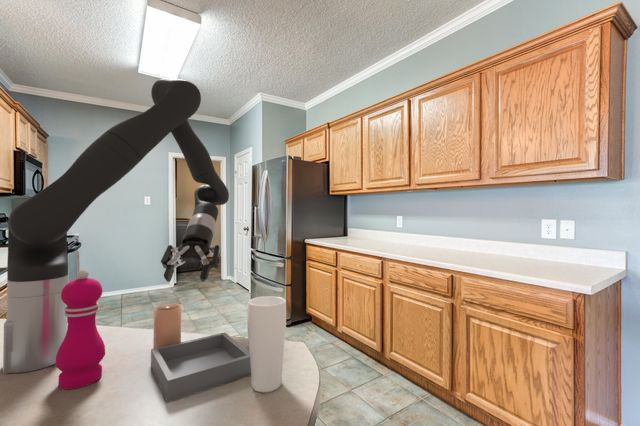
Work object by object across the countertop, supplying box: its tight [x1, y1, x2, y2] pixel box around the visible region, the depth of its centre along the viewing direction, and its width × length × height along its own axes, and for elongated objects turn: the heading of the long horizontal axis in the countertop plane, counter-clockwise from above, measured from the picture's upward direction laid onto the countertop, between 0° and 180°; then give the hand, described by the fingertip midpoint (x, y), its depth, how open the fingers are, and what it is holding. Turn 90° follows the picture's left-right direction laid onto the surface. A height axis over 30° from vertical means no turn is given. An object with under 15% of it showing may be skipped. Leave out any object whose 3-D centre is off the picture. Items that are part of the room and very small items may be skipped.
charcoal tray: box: [150, 332, 251, 403], centre depth 60 cm, size 15×15×4 cm
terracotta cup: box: [152, 303, 182, 349], centre depth 68 cm, size 5×5×10 cm
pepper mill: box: [54, 269, 106, 390], centre depth 57 cm, size 7×7×20 cm
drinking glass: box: [246, 295, 287, 394], centre depth 55 cm, size 7×7×15 cm
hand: (184, 279), depth 78 cm, fingers open, 8 cm apart
